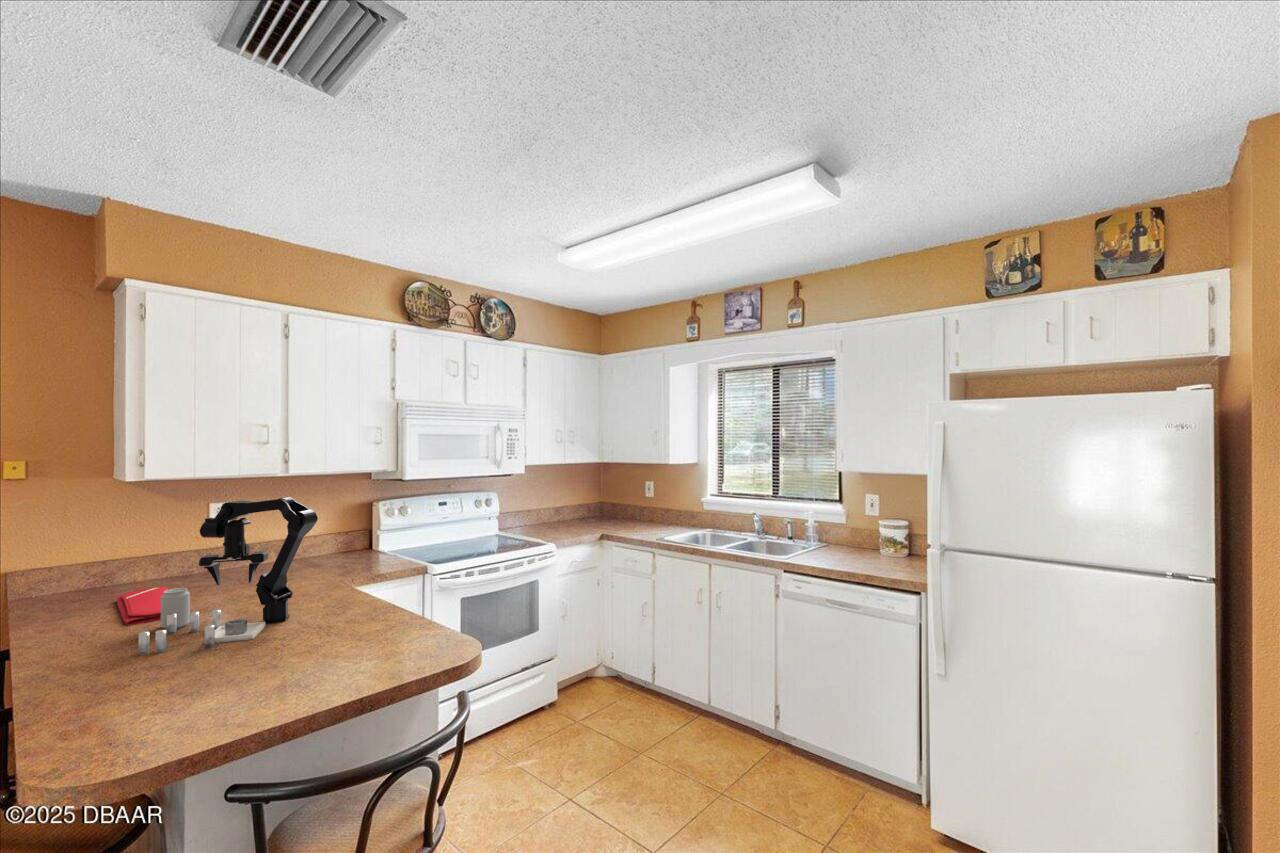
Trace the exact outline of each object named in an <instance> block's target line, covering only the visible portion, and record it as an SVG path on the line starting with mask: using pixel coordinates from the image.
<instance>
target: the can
mask: <svg viewBox="0 0 1280 853" xmlns="http://www.w3.org/2000/svg"><path fill="white" fill-rule="evenodd" d="M163 593H164V594H163V595H162V596H161V620H160V627H161V628H162V629H165V630H167V615H168V614H173V613H176V614H177V629H180V628H183V627H185V626H188V624H190V613H191V593H190V592H189V590H188V588H186V587H178V588H171V589H168V590H167V591H164V592H163Z"/></svg>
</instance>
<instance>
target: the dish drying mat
mask: <svg viewBox="0 0 1280 853" xmlns="http://www.w3.org/2000/svg"><path fill="white" fill-rule="evenodd" d="M167 590H169V588H168V587H167V586H158V587H151V588H144V589H139V590H132V591H129V592H126V593H124V594H122V595H118V597H117V600H116V603H117V608H118V611H119V613H120V615H121V619H122V621H123V622H124V624H125V626H129V627H130V626H134V625H139V624H143V623H144V624H146V623H149V622H155V621H161V596H162V595H163V594H164V593H163V592H164V591H167Z"/></svg>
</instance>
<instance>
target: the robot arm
mask: <svg viewBox="0 0 1280 853" xmlns="http://www.w3.org/2000/svg"><path fill="white" fill-rule="evenodd" d="M270 511H272V512H273V511H279V512H280V513H281V515H282V517H283V519H285V520H286V521H287V525H286V527H287V535H286V537H285V539H284V542H283V544H282V546H281V548H280V550H279V553H278V555H277V557H276V558H275V561H274V563H273V565H272V567H271V569H270V571H269V572H266V573H262V574H260V576H259V578H258V582H257V583H256V584H255V587H256V589H255V593H256V594H257V596H258V599H259V602H260V605H261V606H264V607H262V622H265V624H269V623H280V622H286V620H287V619H288V618H289V617H290V616H291V615H290V614H289V600H290V599H292V597H293V594H294V592H293V591H292V590H291V589H290V588H289V586H288V585H287V582H288V576H287V574H288V572H289V569H290V567H291V565H292V563H293V561H294V558H295V556H296V554H297V551H298V550H299V548H300V546H301V543H302V541H303V539H304V538H305V536H306V535H307V534H308V533H310V531H311V530H312V529H313V528H314V526H315V525H316V523H317V522H318V518H319V517H318V515H317V513H316V512H315V510H314V509H310V508H309V507H308V506H306V505H304V504H302V503H300V502H298V501H297V500H295V499H294V498H293V497H290V496H286V497H280V498H275V499H267V500H259V501H252V500H242V499H241V500H233V501H228V502H224V503H222V505H221V507H220V510H219V511H218V512H217V514H216V515H215V517H206V518H204V522H203V523H202V524H201V526H200V529H199V535H200V536H201V537H202V538H204V539H222V538H223V539H224V540H223V543H222V547H223V555H222V556H220V555H219V554H218V553H215V554H206V555H203V556H202V557H201V558H199V560H198V566H199V567H203V569H206V570H207V571H208V572H209V574H211V576H212V578H213V580H214V582H215V584H216V585H217V586H220V585H221V577H220V576H221V574H220V565H221V563H226V562H227V563H228V562H243V561H250V563H248V583H250V584H252V582H253V578H254V576H255V573H256V570H257V569H258V567H259V565H261V564H262V563H264V562H265V561H267V560H268V559H269V552H267V551H266V550H263V551H254V552H252V553H251V554H250V549H251V545H250V544H247V543H246V541H247V540H246V539H245V526H246V525H251V521H250V520H248V519H247V518H246V517H247V516H249V515H252V514H254V513H263V512H270ZM238 518H239V519H238Z"/></svg>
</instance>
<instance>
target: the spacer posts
mask: <svg viewBox="0 0 1280 853" xmlns="http://www.w3.org/2000/svg"><path fill="white" fill-rule="evenodd" d="M219 626H222V609H213V610H211V624H208V625H206V626H204V639H205V644H204V648H205V649H209V648H213V647H215V646H216V643H215V630H216V629H217V628H218V627H219ZM199 631H200V611H196V610H195V611H192V612H191V611H190V622H189V633H197V632H199ZM177 632H178V628H177V614H176V613H173V614H168V615H167V629H164V628H162V629H159V630H156V631H155V654H162V653H165V652H167V635H168V636H170V635H175V634H177ZM150 634H151V633H150V630H145V631H141V632H138V656H144V655H147V654H150V652H151V651H150V650H151V648H150V647H151V646H150V645H151V643H150V641H151V640H150Z"/></svg>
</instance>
